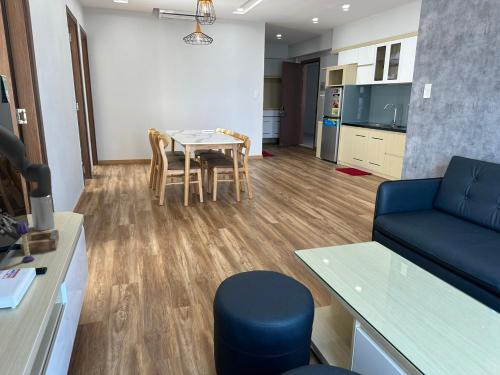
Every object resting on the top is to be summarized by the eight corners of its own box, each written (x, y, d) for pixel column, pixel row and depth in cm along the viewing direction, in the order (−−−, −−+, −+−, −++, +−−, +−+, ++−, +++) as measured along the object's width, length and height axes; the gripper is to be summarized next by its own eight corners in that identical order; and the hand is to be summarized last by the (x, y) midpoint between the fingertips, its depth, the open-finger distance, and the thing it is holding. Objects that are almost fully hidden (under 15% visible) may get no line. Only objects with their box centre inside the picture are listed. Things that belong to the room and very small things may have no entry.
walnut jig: (21, 254, 150) (20, 243, 149) (27, 242, 162) (26, 232, 161) (56, 250, 155) (54, 239, 154) (59, 239, 167) (58, 229, 165)
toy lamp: (29, 263, 142) (24, 225, 138) (17, 263, 142) (12, 224, 138) (36, 258, 147) (31, 220, 143) (25, 258, 147) (20, 220, 143)
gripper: (-16, 208, 129) (24, 234, 136) (-4, 198, 142) (32, 222, 149) (-31, 223, 128) (10, 248, 135) (-18, 211, 141) (19, 235, 148)
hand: (21, 234), depth 142 cm, fingers open, 8 cm apart
